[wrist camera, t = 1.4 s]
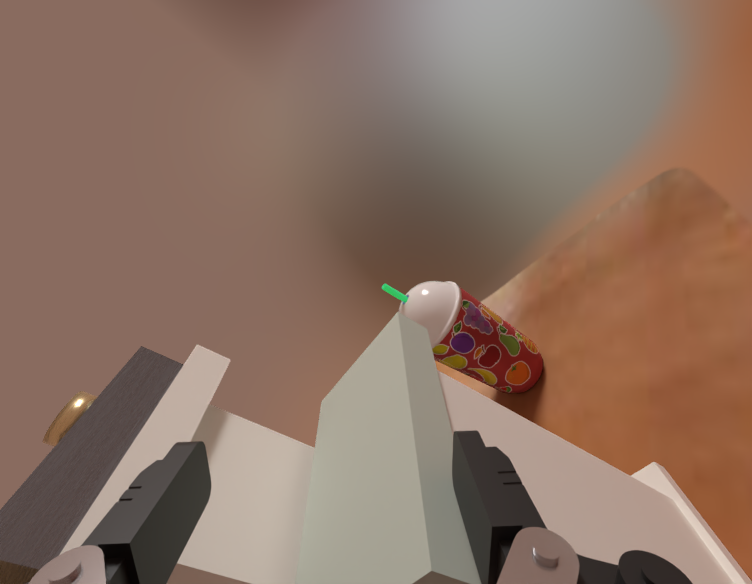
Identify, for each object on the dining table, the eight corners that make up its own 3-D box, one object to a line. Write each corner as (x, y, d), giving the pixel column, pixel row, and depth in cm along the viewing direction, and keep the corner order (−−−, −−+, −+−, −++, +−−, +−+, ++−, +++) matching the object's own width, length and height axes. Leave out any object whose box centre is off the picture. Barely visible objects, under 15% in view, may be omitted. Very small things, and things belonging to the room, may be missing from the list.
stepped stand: (558, 785, 23) (-26, 705, 14) (499, 566, 33) (145, 435, 24) (853, 714, 16) (97, 457, 7) (663, 467, 27) (261, 231, 17)
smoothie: (498, 349, 49) (373, 273, 43) (553, 329, 42) (416, 236, 36) (493, 409, 44) (352, 333, 38) (555, 397, 37) (397, 303, 32)
